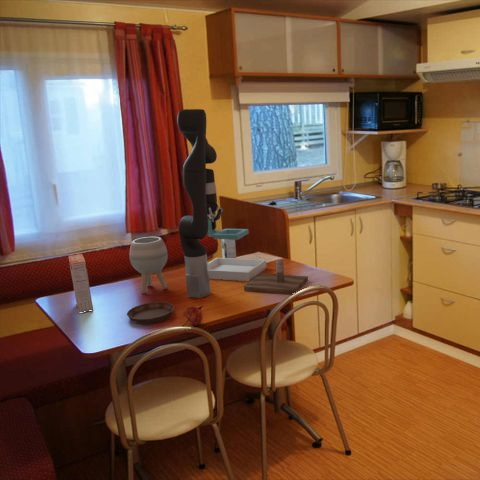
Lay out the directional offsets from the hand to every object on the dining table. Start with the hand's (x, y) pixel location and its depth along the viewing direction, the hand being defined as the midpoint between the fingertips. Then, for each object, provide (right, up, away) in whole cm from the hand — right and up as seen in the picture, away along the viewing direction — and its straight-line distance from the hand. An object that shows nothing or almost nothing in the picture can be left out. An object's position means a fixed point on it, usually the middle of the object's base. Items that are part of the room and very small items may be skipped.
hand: (211, 229), depth 251 cm
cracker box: (-50, -33, -30) cm, 67 cm away
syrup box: (+8, -16, +19) cm, 26 cm away
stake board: (+29, -24, -22) cm, 44 cm away
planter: (-25, -27, -14) cm, 39 cm away
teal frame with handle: (+7, -3, -2) cm, 8 cm away
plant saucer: (-20, -35, -46) cm, 61 cm away
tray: (+10, -20, +1) cm, 23 cm away
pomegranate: (-4, -36, -57) cm, 67 cm away
